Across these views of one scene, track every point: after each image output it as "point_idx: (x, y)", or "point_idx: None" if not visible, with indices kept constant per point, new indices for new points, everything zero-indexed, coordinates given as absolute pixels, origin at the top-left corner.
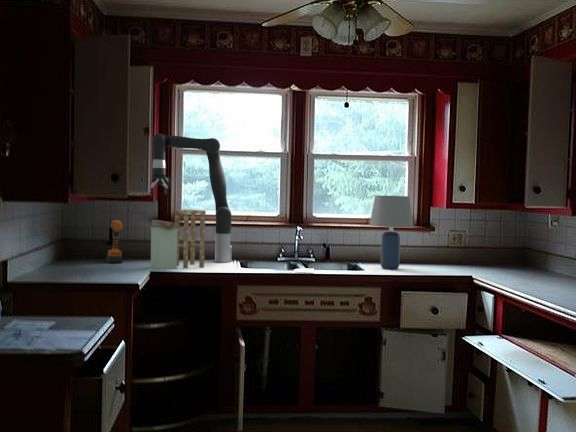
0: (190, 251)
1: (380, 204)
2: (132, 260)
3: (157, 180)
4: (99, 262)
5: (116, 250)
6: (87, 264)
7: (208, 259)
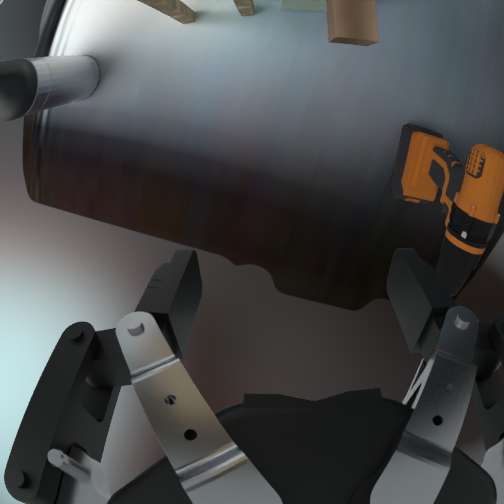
0: (181, 11)
1: None
2: (351, 175)
3: (415, 466)
4: None
5: (435, 143)
6: None
7: (104, 134)
